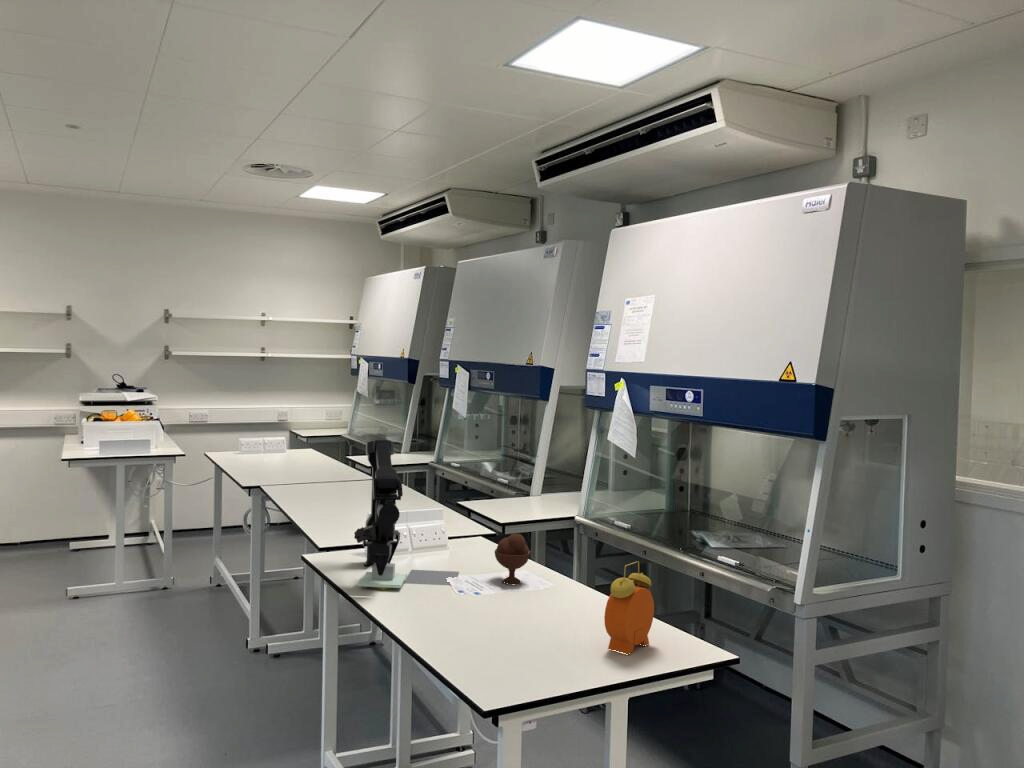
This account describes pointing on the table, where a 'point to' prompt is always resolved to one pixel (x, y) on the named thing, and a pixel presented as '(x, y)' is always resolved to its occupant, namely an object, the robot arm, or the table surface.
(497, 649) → the table surface
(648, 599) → the alarm clock
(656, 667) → the table surface
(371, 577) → the cover
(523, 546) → the ice cream bowl
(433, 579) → the mat
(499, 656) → the table surface
